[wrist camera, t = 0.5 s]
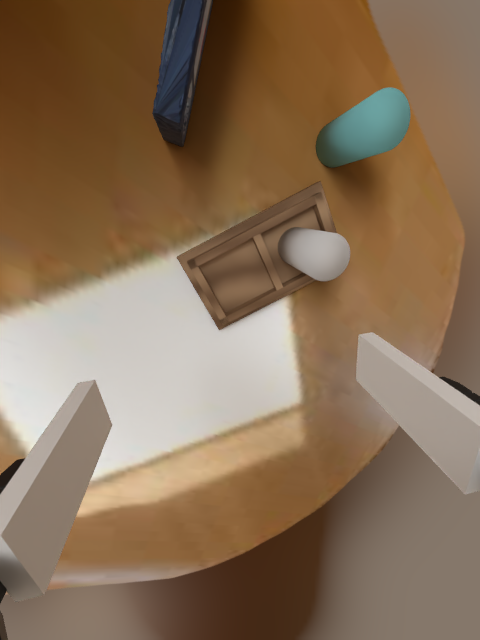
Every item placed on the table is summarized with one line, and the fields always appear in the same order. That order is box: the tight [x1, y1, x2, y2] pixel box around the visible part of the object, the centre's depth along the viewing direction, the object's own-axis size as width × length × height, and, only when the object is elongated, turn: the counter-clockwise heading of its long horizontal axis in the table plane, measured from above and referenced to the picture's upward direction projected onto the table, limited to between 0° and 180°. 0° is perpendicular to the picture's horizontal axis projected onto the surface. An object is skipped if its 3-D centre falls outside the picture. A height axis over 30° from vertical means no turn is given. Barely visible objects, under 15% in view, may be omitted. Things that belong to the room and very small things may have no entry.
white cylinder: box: [278, 227, 350, 281], centre depth 33 cm, size 5×5×10 cm
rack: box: [177, 181, 337, 330], centre depth 37 cm, size 12×21×2 cm, turn 116°
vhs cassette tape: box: [152, 0, 213, 147], centre depth 24 cm, size 18×3×10 cm, turn 162°
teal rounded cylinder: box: [316, 88, 410, 167], centre depth 30 cm, size 5×5×10 cm
